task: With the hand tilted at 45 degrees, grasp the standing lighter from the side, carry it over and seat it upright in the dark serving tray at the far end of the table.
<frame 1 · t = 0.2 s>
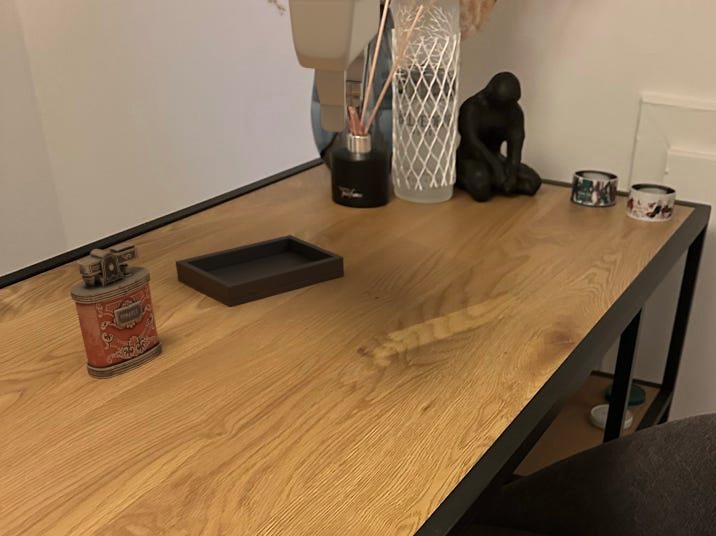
hand: (343, 117, 75), 21 cm above the table, tool pointing down, fingers open, 8 cm apart
dark serving tray: (262, 278, 105), on the table
lighter: (126, 363, 86), on the table
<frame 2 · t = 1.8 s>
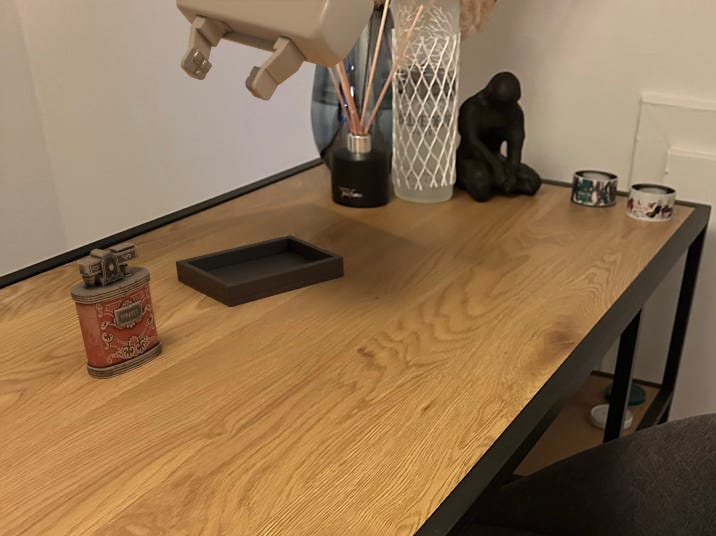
hand: (221, 83, 80), 21 cm above the table, tool tilted 45°, fingers open, 8 cm apart
nothing on the table moved.
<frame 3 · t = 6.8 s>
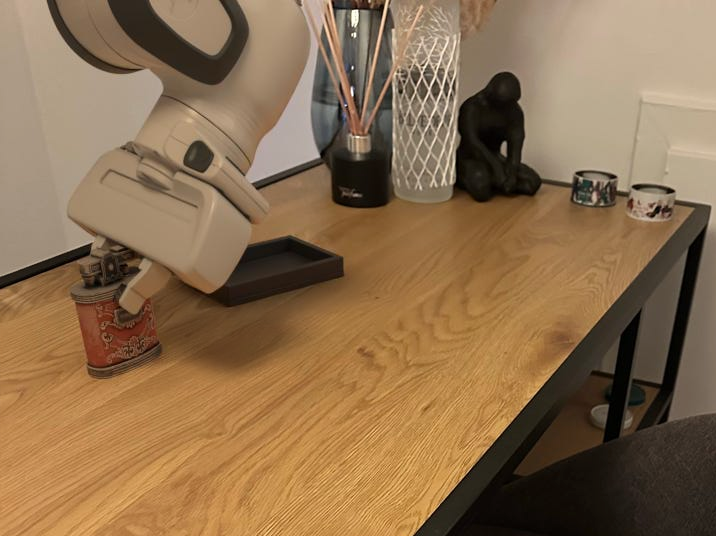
hand: (107, 299, 82), 6 cm above the table, tool tilted 45°, fingers closed on lighter, 4 cm apart
lighter: (126, 363, 86), on the table, touching gripper
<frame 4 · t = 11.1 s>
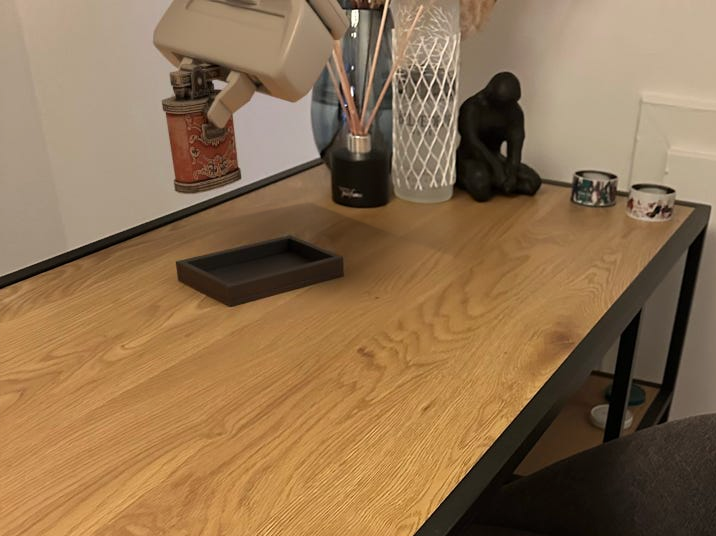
hand: (194, 116, 86), 18 cm above the table, tool tilted 45°, fingers closed on lighter, 4 cm apart
lighter: (209, 186, 91), point 12 cm above the table, touching gripper
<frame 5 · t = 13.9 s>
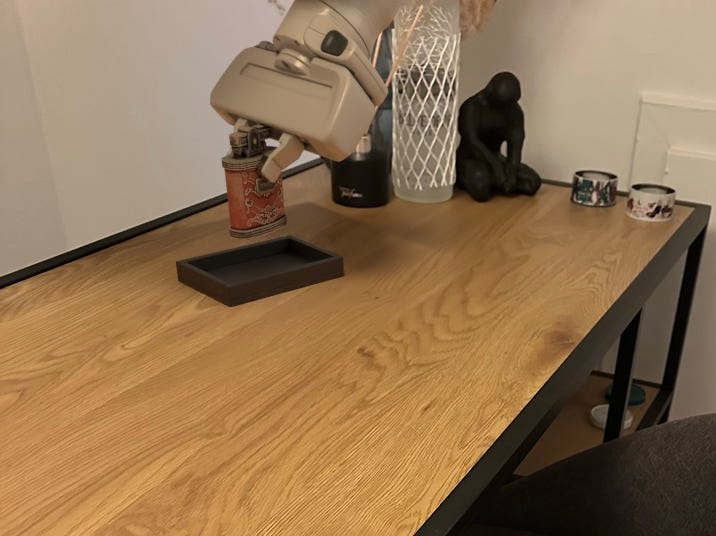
hand: (248, 171, 97), 11 cm above the table, tool tilted 45°, fingers closed on lighter, 4 cm apart
lighter: (259, 231, 102), point 5 cm above the table, touching gripper
when the fingers open (6 cm above the table, at t = 15.6 s): lighter stays where it is, resting on dark serving tray.
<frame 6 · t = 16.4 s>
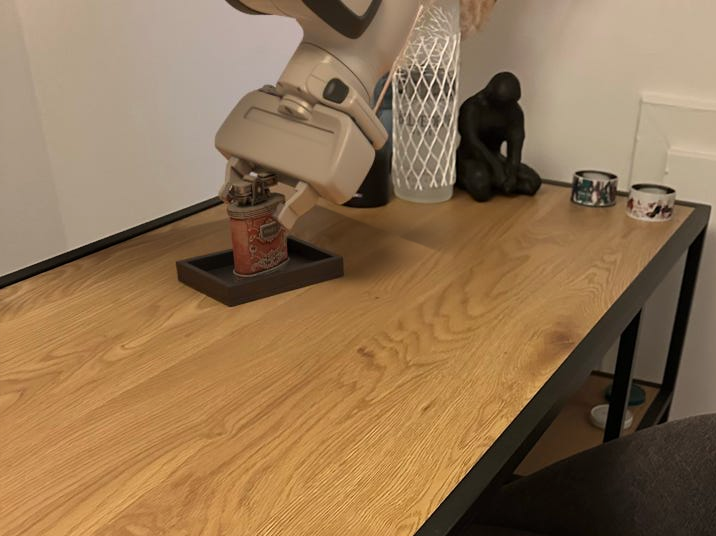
hand: (252, 213, 100), 7 cm above the table, tool tilted 45°, fingers open, 8 cm apart
lighter: (262, 274, 105), resting on dark serving tray
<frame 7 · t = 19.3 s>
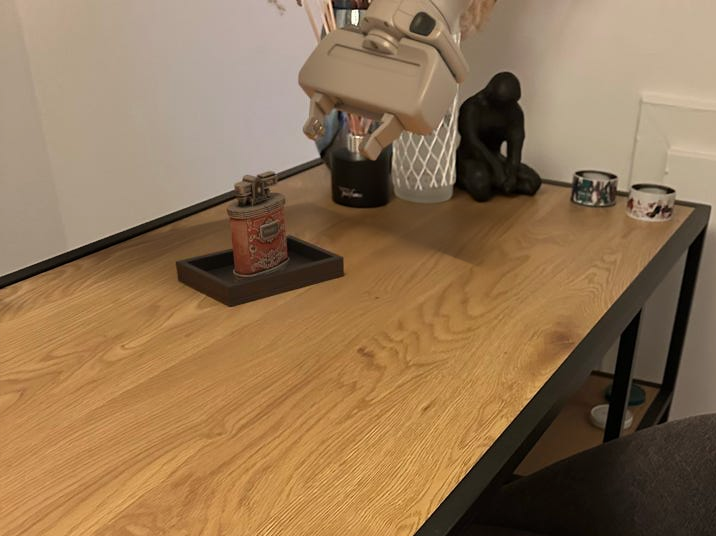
hand: (337, 146, 104), 12 cm above the table, tool tilted 45°, fingers open, 8 cm apart
nothing on the table moved.
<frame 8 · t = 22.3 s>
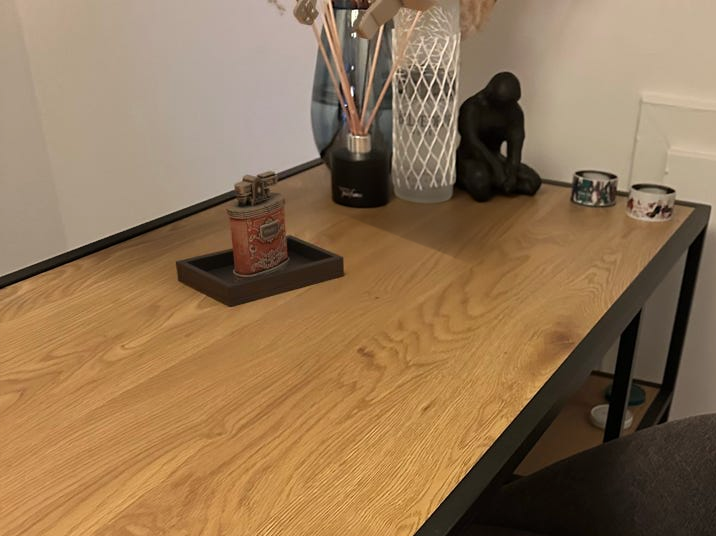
hand: (330, 27, 96), 23 cm above the table, tool tilted 45°, fingers open, 8 cm apart
nothing on the table moved.
at the end: lighter inside the target area in the dark serving tray (0.0 cm from its centre), point 0.4 cm above the dark serving tray's base; lighter tilted 0°; the gripper is holding nothing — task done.
